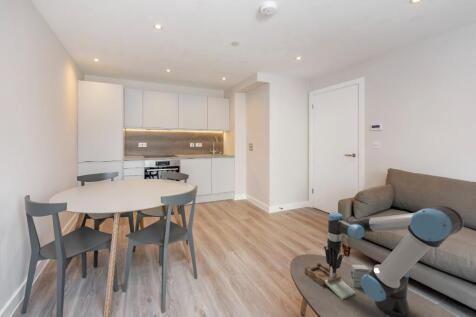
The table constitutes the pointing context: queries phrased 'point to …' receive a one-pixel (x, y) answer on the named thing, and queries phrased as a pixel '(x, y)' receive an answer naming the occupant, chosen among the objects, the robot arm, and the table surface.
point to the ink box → (358, 274)
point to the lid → (339, 287)
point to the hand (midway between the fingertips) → (332, 277)
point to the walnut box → (318, 273)
